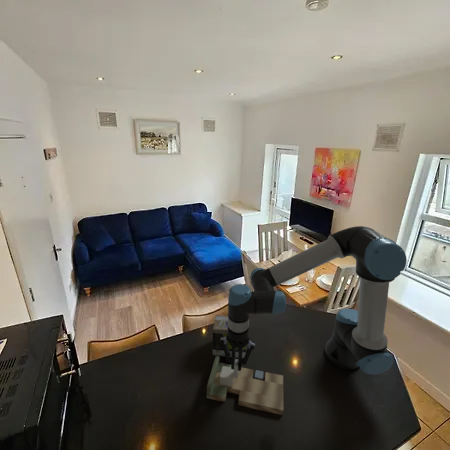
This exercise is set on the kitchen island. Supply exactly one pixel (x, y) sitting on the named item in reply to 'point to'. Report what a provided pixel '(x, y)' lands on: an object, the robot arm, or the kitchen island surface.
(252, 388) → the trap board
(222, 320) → the tea box
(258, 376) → the block
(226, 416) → the kitchen island surface
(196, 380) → the kitchen island surface
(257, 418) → the kitchen island surface
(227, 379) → the cream block
